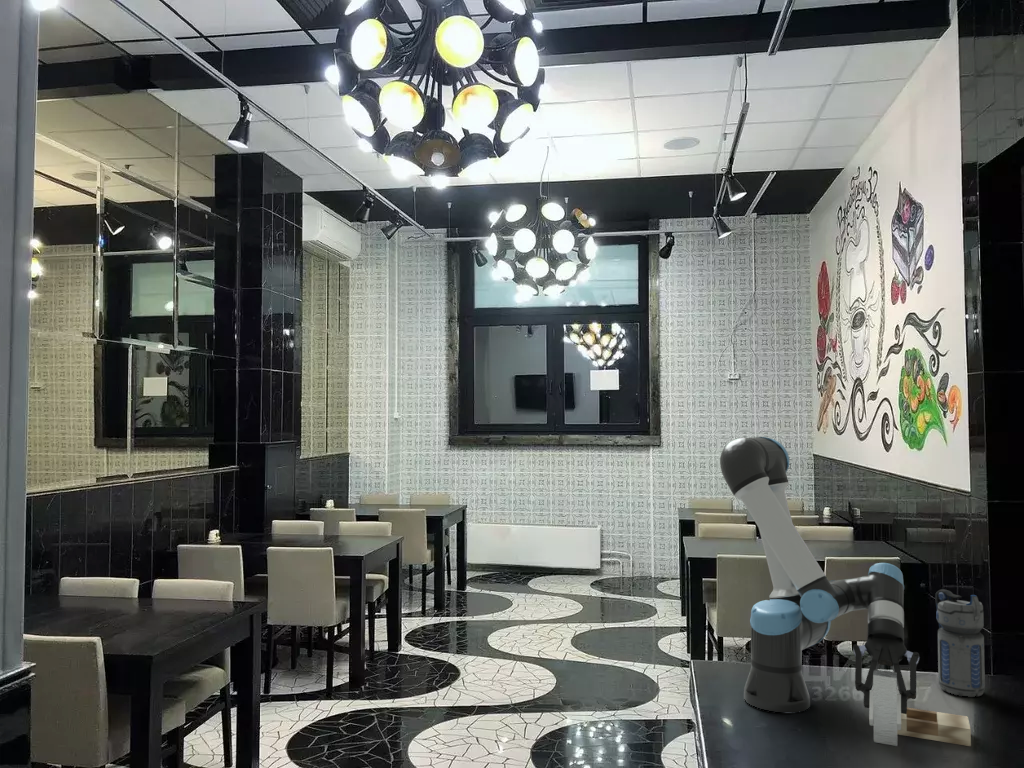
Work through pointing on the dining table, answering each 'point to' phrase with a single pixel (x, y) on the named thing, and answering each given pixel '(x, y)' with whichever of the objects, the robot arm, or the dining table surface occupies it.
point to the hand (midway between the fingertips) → (885, 724)
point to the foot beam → (936, 726)
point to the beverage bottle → (960, 644)
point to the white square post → (885, 707)
